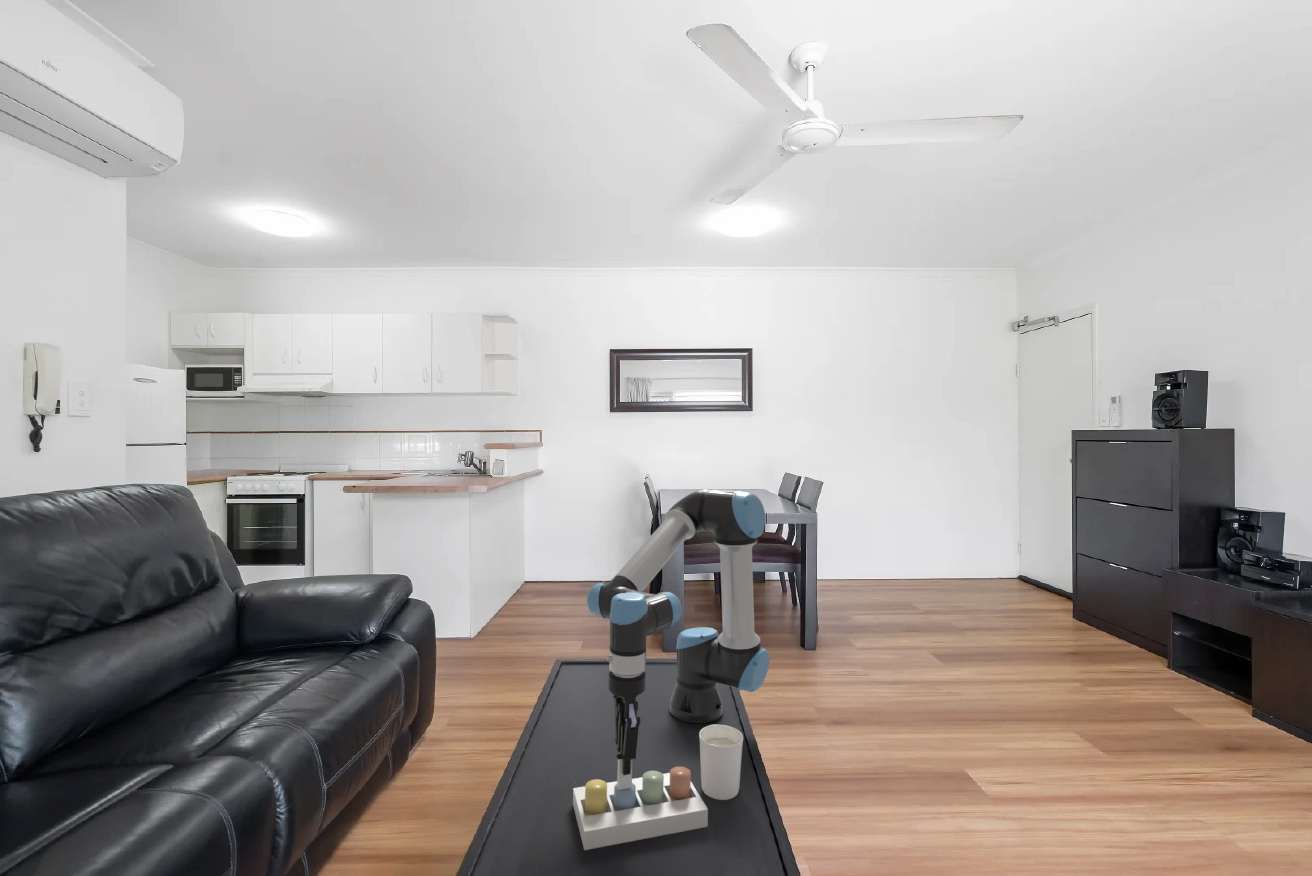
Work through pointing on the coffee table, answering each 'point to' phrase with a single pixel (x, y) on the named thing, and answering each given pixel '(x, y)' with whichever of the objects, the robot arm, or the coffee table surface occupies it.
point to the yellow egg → (595, 797)
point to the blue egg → (624, 798)
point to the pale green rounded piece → (652, 787)
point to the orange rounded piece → (680, 783)
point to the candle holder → (720, 761)
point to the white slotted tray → (638, 817)
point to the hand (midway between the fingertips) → (624, 786)
